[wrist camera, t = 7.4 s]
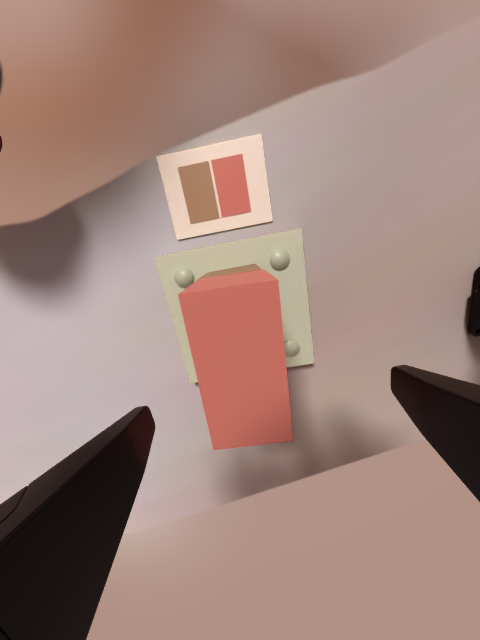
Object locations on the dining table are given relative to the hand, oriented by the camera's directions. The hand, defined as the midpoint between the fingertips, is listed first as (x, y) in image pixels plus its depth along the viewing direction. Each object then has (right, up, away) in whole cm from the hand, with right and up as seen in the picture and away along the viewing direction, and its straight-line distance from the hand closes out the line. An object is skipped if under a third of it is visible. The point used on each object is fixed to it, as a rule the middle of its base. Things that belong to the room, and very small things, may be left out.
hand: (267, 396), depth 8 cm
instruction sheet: (-3, +13, +9) cm, 16 cm away
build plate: (-1, +4, +12) cm, 13 cm away
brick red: (-1, +2, +6) cm, 7 cm away
